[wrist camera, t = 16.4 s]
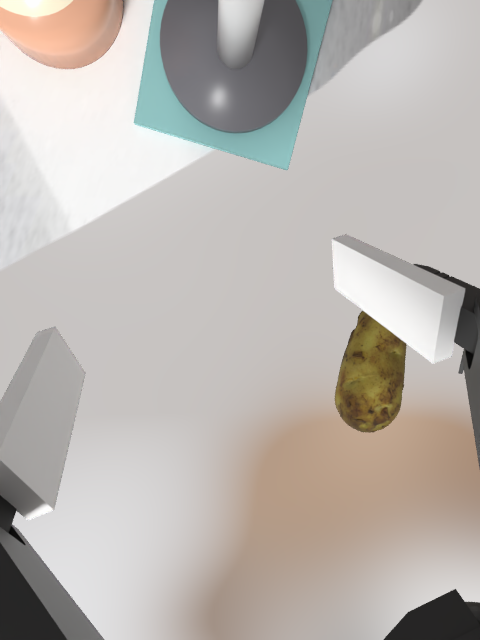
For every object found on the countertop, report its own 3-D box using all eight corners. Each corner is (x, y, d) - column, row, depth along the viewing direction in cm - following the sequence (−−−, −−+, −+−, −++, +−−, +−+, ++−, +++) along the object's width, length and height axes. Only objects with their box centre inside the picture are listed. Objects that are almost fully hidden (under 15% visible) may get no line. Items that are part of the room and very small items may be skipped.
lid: (148, 108, 29) (112, 27, 18) (178, -61, 26) (157, -267, 16) (282, 151, 31) (320, 100, 20) (322, -3, 28) (390, -152, 18)
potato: (418, 329, 37) (475, 350, 29) (350, 413, 38) (385, 455, 31) (366, 288, 35) (411, 300, 27) (297, 378, 37) (320, 414, 29)
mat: (134, 124, 29) (133, 122, 29) (169, -82, 26) (168, -87, 26) (286, 170, 31) (287, 169, 31) (335, -16, 28) (337, -19, 28)
